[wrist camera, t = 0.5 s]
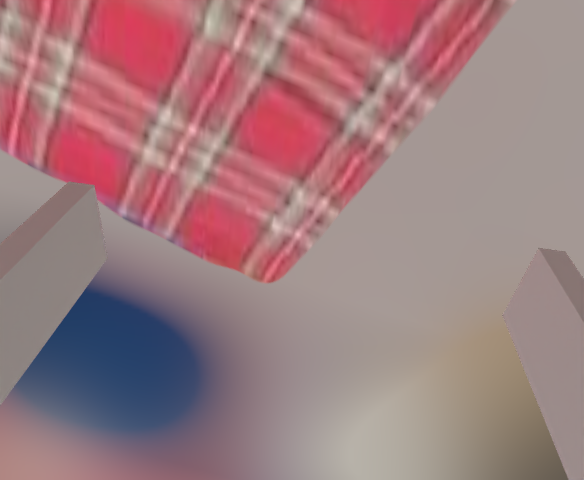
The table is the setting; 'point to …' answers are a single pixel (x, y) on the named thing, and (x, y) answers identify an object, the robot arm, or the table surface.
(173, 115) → the table surface
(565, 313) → the robot arm
